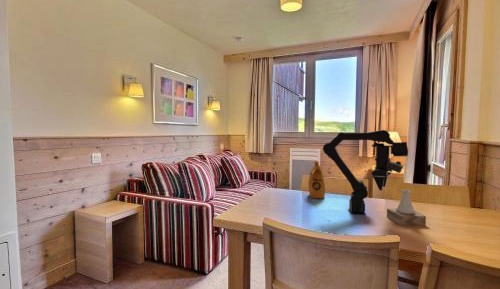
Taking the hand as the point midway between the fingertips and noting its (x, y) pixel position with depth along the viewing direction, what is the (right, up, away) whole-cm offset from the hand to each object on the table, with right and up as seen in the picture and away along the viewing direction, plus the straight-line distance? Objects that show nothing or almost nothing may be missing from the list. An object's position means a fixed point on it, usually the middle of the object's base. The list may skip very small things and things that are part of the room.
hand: (382, 188), depth 126 cm
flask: (+7, -10, -8) cm, 14 cm away
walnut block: (+7, -14, -7) cm, 17 cm away
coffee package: (-23, -11, +36) cm, 44 cm away
